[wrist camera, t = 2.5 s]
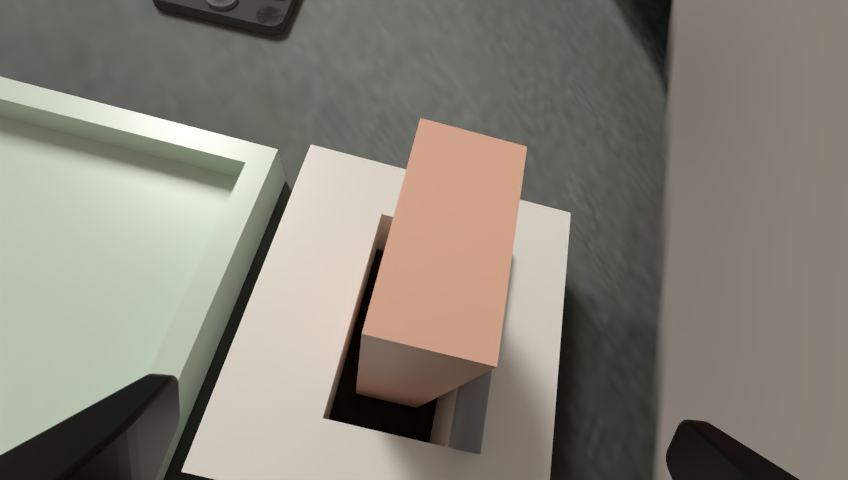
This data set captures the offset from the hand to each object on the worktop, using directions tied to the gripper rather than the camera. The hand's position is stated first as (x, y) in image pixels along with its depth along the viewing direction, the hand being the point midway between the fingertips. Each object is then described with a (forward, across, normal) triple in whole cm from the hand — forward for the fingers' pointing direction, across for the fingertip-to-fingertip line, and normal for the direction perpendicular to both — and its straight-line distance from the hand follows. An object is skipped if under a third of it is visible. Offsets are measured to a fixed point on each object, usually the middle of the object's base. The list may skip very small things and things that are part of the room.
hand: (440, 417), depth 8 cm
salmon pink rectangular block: (+10, 0, +5) cm, 11 cm away
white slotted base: (+10, 0, +5) cm, 11 cm away
